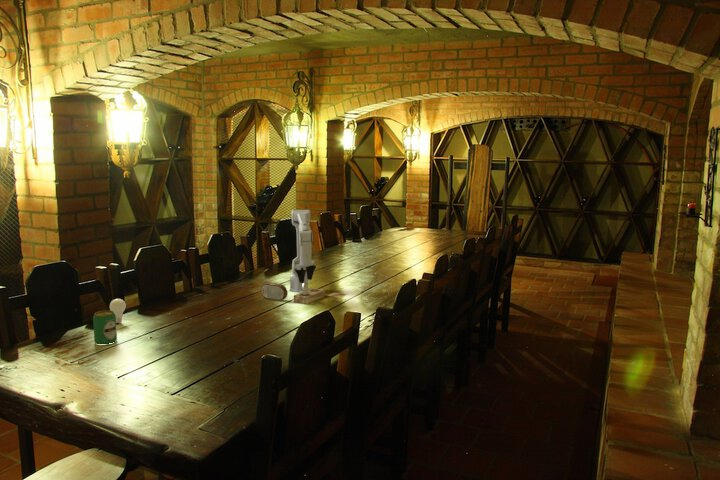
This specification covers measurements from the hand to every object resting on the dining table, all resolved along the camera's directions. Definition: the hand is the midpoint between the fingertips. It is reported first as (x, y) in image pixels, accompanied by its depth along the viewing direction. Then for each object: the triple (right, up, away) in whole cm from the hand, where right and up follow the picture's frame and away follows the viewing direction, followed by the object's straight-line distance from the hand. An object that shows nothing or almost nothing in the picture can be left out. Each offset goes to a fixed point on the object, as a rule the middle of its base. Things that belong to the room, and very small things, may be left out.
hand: (305, 281), depth 277 cm
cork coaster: (+15, -9, +13) cm, 22 cm away
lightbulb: (-77, -16, -39) cm, 88 cm away
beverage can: (-72, -20, -62) cm, 97 cm away
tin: (-17, -10, +4) cm, 20 cm away
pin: (0, -10, 0) cm, 10 cm away
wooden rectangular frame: (+2, -10, +5) cm, 11 cm away
